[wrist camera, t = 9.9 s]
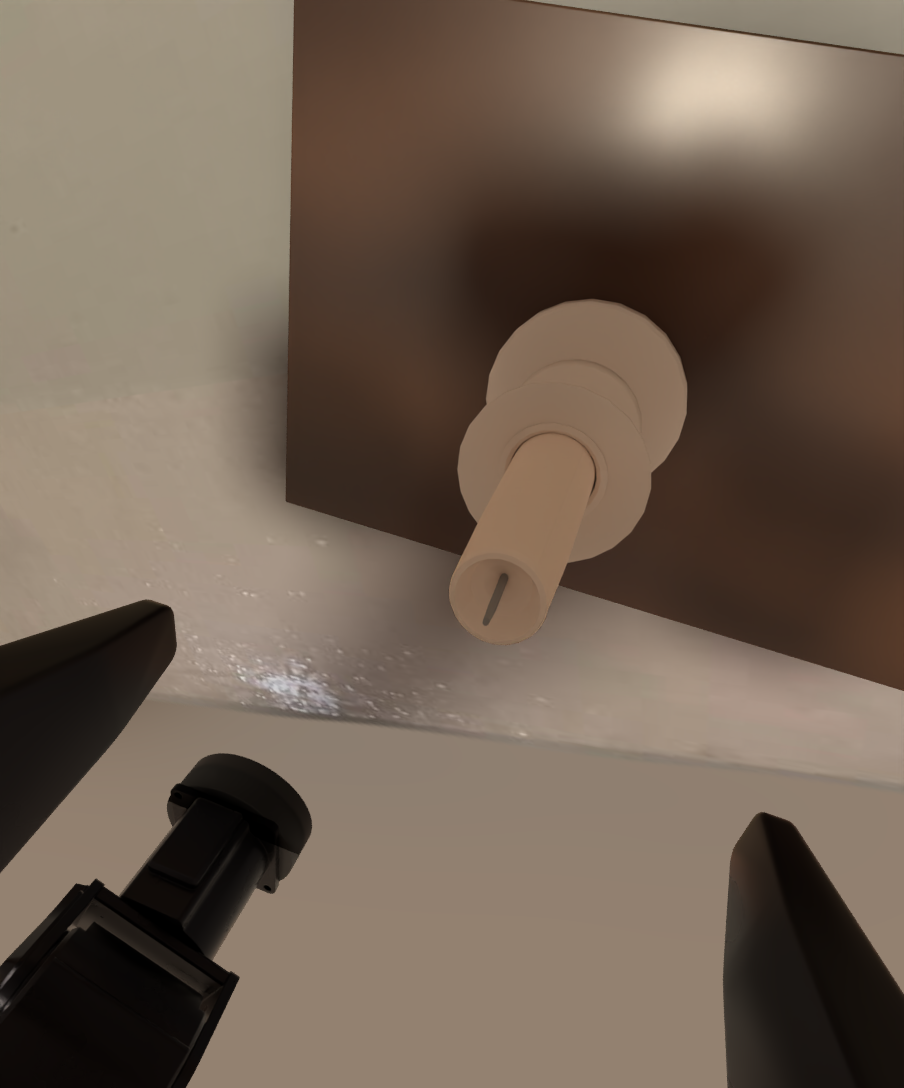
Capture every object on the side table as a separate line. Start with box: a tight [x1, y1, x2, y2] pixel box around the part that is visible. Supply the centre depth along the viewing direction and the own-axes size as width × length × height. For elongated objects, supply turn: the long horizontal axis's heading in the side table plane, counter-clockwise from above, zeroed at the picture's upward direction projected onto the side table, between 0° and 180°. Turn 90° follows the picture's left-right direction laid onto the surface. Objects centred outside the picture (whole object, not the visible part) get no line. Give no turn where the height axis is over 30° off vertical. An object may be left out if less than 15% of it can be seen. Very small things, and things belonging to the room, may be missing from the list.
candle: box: [449, 299, 687, 645], centre depth 13 cm, size 5×5×10 cm
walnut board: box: [286, 0, 904, 691], centre depth 17 cm, size 14×20×1 cm
